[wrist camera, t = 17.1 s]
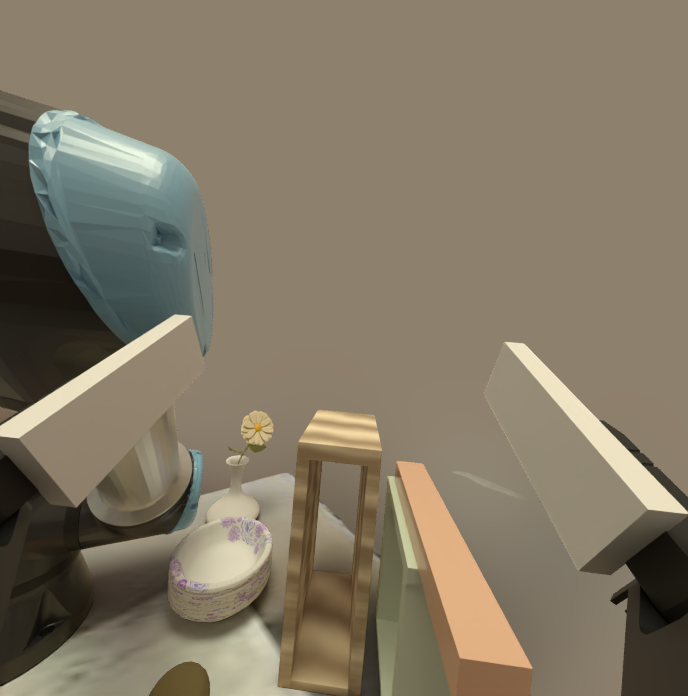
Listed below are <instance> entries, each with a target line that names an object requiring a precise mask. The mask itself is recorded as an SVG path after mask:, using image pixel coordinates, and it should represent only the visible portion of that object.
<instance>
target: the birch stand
mask: <svg viewBox="0 0 688 696" xmlns="http://www.w3.org/2000/svg"><path fill="white" fill-rule="evenodd" d="M381 456H382V448H381V444H380V439H379V434H378V430H377V425H376V420H375V416H374V415H366V414H356V413H346V412H336V411H326V410H318V412H317V413H316V414H315V416H314V418H313V419H312V421H311V422H310V424H309V426H308V427H307V429H306V431H305V432H304V434H303V435H302V437H301V438H300V440H299V442H298V452H297V464H296V476H295V488H294V500H293V512H292V523H291V535H290V547H289V559H288V571H287V583H286V595H285V607H284V618H283V630H282V642H281V654H280V666H279V678H278V686H279V687H285V688H291V689H298V690H304V691H310V692H317V693H323V694H329V695H336V696H360V693H361V682H362V670H363V659H364V648H365V637H366V626H367V614H368V603H369V592H370V581H371V570H372V558H373V547H374V536H375V525H376V513H377V501H378V491H379V480H380V469H381ZM322 461H326V462H335V463H344V464H353V465H361V476H360V487H359V498H358V499H359V500H358V510H357V521H356V533H355V544H354V555H353V566H352V575H347V574H339V573H332V572H324V571H317V570H313V565H314V553H315V542H316V530H317V518H318V507H319V495H320V483H321V472H322Z"/></svg>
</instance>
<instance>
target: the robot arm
mask: <svg viewBox="0 0 688 696" xmlns="http://www.w3.org/2000/svg"><path fill="white" fill-rule="evenodd" d="M212 321H213V287H212V259H211V247H210V238H209V230H208V224H207V218H206V212H205V207H204V203H203V199H202V196H201V194H200V191H199V188H198V186H197V184H196V182H195V180H194V178H193V176H192V175H191V174H190V172H189V171H188V170H187V169H186V167H185V166H184V165H183V164H182V163H181V162H180V161H178V160H177V159H176V158H175V157H174V156H172V155H170V154H169V153H167V152H165V151H163V150H162V149H159V148H156V147H154V146H151V145H148V144H146V143H143V142H141V141H138V140H135V139H133V138H130V137H128V136H125V135H122V134H120V133H117V132H114V131H112V130H109V129H106V128H104V127H102V126H101V125H99V124H98V123H96V122H95V121H93V120H92V119H90V118H88V117H83V116H81V115H80V114H78V113H76V112H74V111H70V110H59V109H56V108H53V107H50V106H47V105H44V104H41V103H38V102H35V101H32V100H28V99H25V98H22V97H19V96H16V95H13V94H10V93H6V92H3V91H0V407H1V408H3V409H6V410H9V411H12V412H15V413H16V414H14V415H13V416H11V417H9V418H8V419H6V420H5V421H3V422H1V423H0V685H2V684H4V683H6V682H7V681H9V680H11V679H13V678H15V677H16V676H18V675H20V674H22V673H23V672H25V671H26V670H28V669H30V668H31V667H33V666H34V665H36V664H37V663H38V662H40V661H41V660H43V659H44V658H45V657H47V656H48V655H49V654H51V653H52V652H53V651H54V650H55V649H57V648H58V647H59V646H60V645H61V644H62V643H63V642H64V641H66V640H67V639H68V638H69V637H70V636H71V635H72V633H73V632H74V631H75V630H76V629H77V628H78V627H79V625H80V624H81V623H82V621H83V620H84V618H85V617H86V615H87V614H88V612H89V610H90V607H91V605H92V601H93V589H94V582H93V578H92V575H91V573H90V571H89V569H88V566H87V564H86V562H85V560H84V558H83V555H82V553H81V549H86V548H91V547H96V546H102V545H107V544H112V543H118V542H123V541H129V540H134V539H139V538H145V537H150V536H155V535H161V534H166V535H167V534H171V533H173V532H174V531H178V530H182V529H185V528H187V527H188V526H190V525H191V523H192V522H193V520H194V518H195V516H196V512H197V508H198V501H199V498H200V492H201V484H202V474H203V473H202V472H203V458H202V453H201V452H200V451H198V450H191V449H185V447H184V446H183V445H182V444H180V443H179V442H178V439H177V427H176V416H175V403H174V402H175V401H176V400H177V398H179V396H180V395H181V394H182V393H183V392H184V391H185V390H186V389H187V388H188V387H189V386H190V385H191V383H192V382H193V381H194V380H195V379H196V378H197V377H198V376H199V375H200V374H201V373H202V372H203V371H204V369H205V364H204V360H203V357H204V356H205V354H206V353H207V351H208V349H209V346H210V342H211V336H212ZM483 395H484V397H485V399H486V400H487V402H488V404H489V406H490V408H491V410H492V412H493V413H494V415H495V417H496V419H497V421H498V423H499V425H500V427H501V428H502V430H503V432H504V434H505V436H506V438H507V440H508V441H509V443H510V445H511V447H512V449H513V451H514V453H515V455H516V456H517V458H518V460H519V462H520V464H521V466H522V468H523V469H524V471H525V473H526V475H527V477H528V479H529V481H530V482H531V484H532V486H533V488H534V490H535V492H536V494H537V495H538V497H539V499H540V501H541V503H542V505H543V507H544V508H545V510H546V512H547V514H548V516H549V518H550V520H551V522H552V523H553V525H554V527H555V529H556V531H557V533H558V535H559V536H560V538H561V540H562V542H563V544H564V546H565V548H566V550H567V552H568V553H569V555H570V557H571V559H572V561H573V563H574V565H575V566H576V568H577V570H578V571H582V572H590V573H598V574H605V575H611V574H613V573H614V572H615V571H617V570H618V569H619V568H621V567H622V566H623V565H625V564H626V565H627V566H628V568H629V569H630V571H631V572H632V573H633V575H634V576H635V578H636V579H634V580H633V581H632V582H630V583H629V584H627V585H626V586H625V587H623V588H621V589H620V590H619V591H617V592H616V593H614V594H613V596H612V598H611V600H610V601H611V602H613V603H614V604H615V605H617V604H618V603H620V602H621V601H623V600H625V599H626V598H628V602H627V609H626V610H625V612H626V613H627V619H626V632H625V648H624V661H623V676H622V692H621V696H688V497H687V496H686V495H685V494H684V493H683V492H682V491H681V490H680V489H679V488H678V487H677V486H676V485H675V484H674V483H673V482H672V481H671V480H670V479H668V478H667V476H666V475H665V474H664V473H663V472H662V471H661V470H660V469H658V468H657V467H654V466H653V463H652V462H651V461H650V460H649V459H648V458H647V457H646V456H645V455H644V454H643V453H640V450H639V449H638V448H637V447H636V446H635V445H634V444H633V443H632V442H631V441H630V440H629V439H628V438H627V437H626V436H625V435H624V434H622V433H621V432H619V431H618V430H616V429H615V428H613V427H612V426H610V425H609V424H607V423H606V422H604V421H601V420H598V419H597V418H596V417H595V416H594V415H593V414H592V413H591V412H590V411H589V410H588V409H587V408H586V407H585V406H584V405H583V404H582V403H581V402H580V401H579V400H578V399H577V398H576V397H575V395H574V394H573V393H572V392H571V391H570V390H569V389H568V388H567V387H566V386H565V385H564V384H563V383H562V382H561V381H560V380H559V379H558V378H557V377H556V376H555V375H554V374H553V373H552V372H551V371H550V370H549V369H548V368H547V367H546V366H545V365H544V364H543V363H542V362H541V361H540V360H539V359H538V357H537V356H536V355H535V354H534V353H533V352H532V351H531V350H530V349H529V348H528V347H527V346H526V345H525V344H523V343H511V342H504V344H503V347H502V350H501V352H500V354H499V357H498V359H497V362H496V364H495V367H494V369H493V372H492V374H491V377H490V379H489V382H488V384H487V386H486V389H485V391H484V394H483Z"/></svg>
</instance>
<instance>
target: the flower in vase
mask: <svg viewBox="0 0 688 696" xmlns="http://www.w3.org/2000/svg"><path fill="white" fill-rule="evenodd" d="M241 428H242V429H241V435H243V438H244V439H246V443H249V444H248V446H247V448H248V447H250V449H251V450H252V451H253V452H260V451H262V450H264V449H265V448H266V446H265V445H264V443H265V441H266V442H268V440H269V438H271V437H272V432H273V429H272V428H273V423H272V422H271V419H270V418H268V415H267V414H266V413H263V412H262V411H260V412H258V411H254V412H252V413H250V414H249V416H246V417H244V420H243V425H242V426H241ZM249 445H250V446H249ZM228 448H229V447H228ZM247 448H246V449H245V451H244V452H241V451H238V450H233V449H231V448H229V450H231V451H235V452H239V453H242V455H240V456H239V455H238V456H232V457H230V458H228V459H227V460H226V463H227V464H228V466H229V468H230V472H231V486H230V490H229V492H228V493H227V494H226V495H225V496H223V497H222V498H220V499H219V500H217V501H216V502H215V503H214V504H213V505H212V506H211V507H210V508H209V510H208V512H207V514H206V522H207V523H209V522H212V521H215V520H218V519H222V518H227V517H247V518H251V519H254V520H255V519H256V518H257V516H258V515H259V512H260V508H259V505H258V503H257V501H256V500H255V499H254V498H252V497H251V496H249V495H247V494H245V493H244V492H243V491H242V489H241V480H242V474H243V470H244V468H245V466H246V464H247V463H248V462H249V460H250V459H249V458H248V457H246V456H243V455H244V453H245V452H246V450H247Z"/></svg>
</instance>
